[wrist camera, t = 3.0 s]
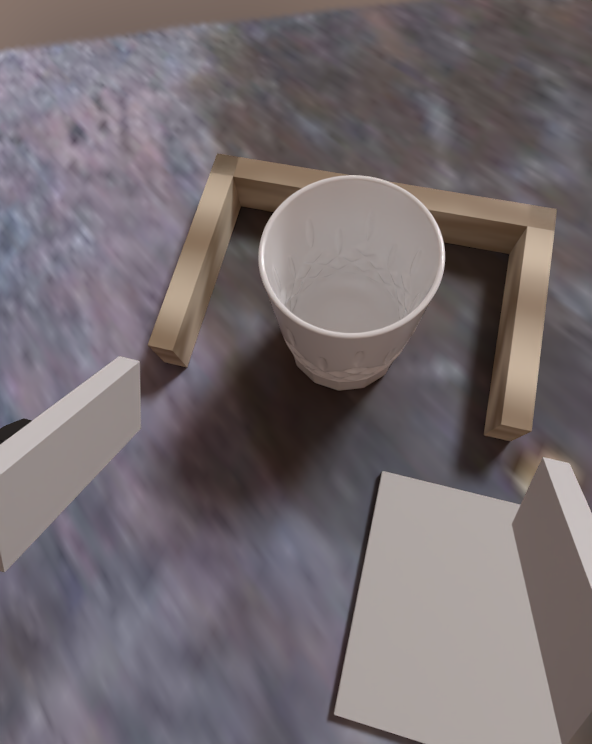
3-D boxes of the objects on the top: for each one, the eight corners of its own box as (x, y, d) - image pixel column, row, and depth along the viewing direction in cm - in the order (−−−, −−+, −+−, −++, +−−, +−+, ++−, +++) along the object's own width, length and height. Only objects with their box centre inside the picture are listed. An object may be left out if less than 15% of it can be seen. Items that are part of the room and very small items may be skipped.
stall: (510, 441, 28) (531, 431, 25) (164, 362, 30) (147, 345, 28) (536, 238, 31) (556, 209, 29) (226, 184, 34) (217, 153, 31)
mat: (334, 711, 24) (333, 714, 24) (381, 472, 28) (382, 471, 27) (588, 791, 23) (593, 797, 22) (605, 527, 26) (610, 527, 25)
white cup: (366, 425, 28) (385, 373, 19) (255, 358, 30) (221, 280, 21) (431, 319, 30) (478, 222, 21) (323, 261, 32) (321, 148, 22)
